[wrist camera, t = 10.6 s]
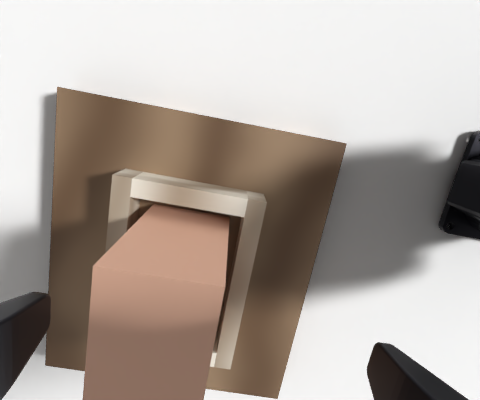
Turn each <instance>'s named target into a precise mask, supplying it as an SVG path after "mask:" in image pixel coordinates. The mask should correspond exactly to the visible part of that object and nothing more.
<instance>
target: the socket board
mask: <svg viewBox="0 0 480 400" xmlns="http://www.w3.org/2000/svg"><path fill="white" fill-rule="evenodd" d="M345 148H346V143H341V142H336V141H331V140H326V139H321V138H316V137H310V136H305V135H300V134H295V133H290V132H285V131H280V130H275V129H270V128H265V127H260V126H254V125H249V124H244V123H239V122H234V121H229V120H224V119H219V118H214V117H209V116H204V115H198V114H193V113H188V112H183V111H178V110H173V109H168V108H163V107H158V106H153V105H148V104H142V103H137V102H132V101H127V100H122V99H117V98H112V97H107V96H102V95H97V94H91V93H86V92H81V91H76V90H71V89H66V88H61V87H57V105H56V128H55V151H54V175H53V198H52V221H51V244H50V267H49V291H48V294H49V295H50V297H51V321H50V325H49V328H48V330H47V337H46V360H45V365H46V366H53V367H60V368H67V369H73V370H80V371H85V364H86V351H87V338H88V325H89V311H90V298H91V285H92V272H93V265H94V264H95V263H96V262H97V261H98V260H99V259H100V258H101V257H102V256H103V255H104V254H105V253H106V252H107V251H108V250H109V249H110V248H111V247H112V246H113V245H114V244H115V243H116V242H117V241H118V240H119V239H120V238H121V237H122V236H123V235H124V234H125V233H126V232H127V231H128V230H129V229H130V228H131V227H132V226H133V225H134V224H135V223H136V222H137V221H138V220H139V219H140V218H141V217H142V216H143V214H144V213H145V212H146V211H147V210H148V209H149V208H150V207H151V206H152V205H153V204H158V205H164V206H169V207H175V208H181V209H187V210H193V211H198V212H204V213H210V214H216V215H221V216H227V217H230V220H229V236H228V251H227V267H226V283H225V291H224V296H223V301H222V306H221V311H220V316H219V322H218V327H217V332H216V337H215V342H214V347H213V353H212V358H211V363H210V368H209V373H208V378H207V384H206V389H212V390H219V391H226V392H233V393H240V394H247V395H254V396H261V397H268V398H275V399H277V398H278V395H279V391H280V387H281V384H282V380H283V376H284V373H285V369H286V365H287V362H288V358H289V354H290V350H291V347H292V343H293V339H294V336H295V332H296V328H297V325H298V321H299V317H300V314H301V310H302V306H303V303H304V299H305V295H306V291H307V288H308V284H309V280H310V277H311V273H312V269H313V266H314V262H315V258H316V255H317V251H318V247H319V244H320V240H321V236H322V233H323V229H324V225H325V221H326V218H327V214H328V210H329V207H330V203H331V199H332V196H333V192H334V188H335V185H336V181H337V177H338V174H339V170H340V166H341V162H342V159H343V155H344V151H345Z"/></svg>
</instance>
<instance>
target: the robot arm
mask: <svg viewBox="0 0 480 400" xmlns="http://www.w3.org/2000/svg"><path fill="white" fill-rule="evenodd" d="M479 138H480V131H476V132H474V133H473V134H472V136H471V137H470V140H469V143H468V145H467V148H466V151H465V154H464V156H463V159H462V162H461V164H460V166H459V169H458V172H457V174H456V177H455V180H454V183H453V185H452V188H451V191H450V193H449V196H448V199H447V203H446V205H445V208H444V211H443V214H442V216H441V219H440V222H439V228H440V229H441V230H442V231H444V232H446V233H449V234H455V235H460V236H466V237H471V238H477V239H480V142H479ZM448 223H450V226H449V227H447V224H448ZM50 321H51V297H50V295H49V294H46V293H39V292H31V293H28V294H25V295H23V296H20V297H17V298H14V299H11V300H8V301H5V302H2V303H0V400H2V398H3V397H4V396H5V395H6V393H7V392H8V390H9V389H10V388H11V386H12V385H13V384H14V382H15V381H16V379H17V378H18V376H19V375H20V373H21V371H22V370H23V368H24V367H25V365H26V363H27V362H28V360H29V359H30V357H31V356H32V354H33V352H34V351H35V349H36V348H37V346H38V344H39V343H40V341H41V340H42V338H43V336H44V335H45V333H46V332H47V330H48V328H49V325H50ZM367 375H368V379H369V383H370V386H371V390H372V394H373V397H374V400H468V399H467V398H466V397H464V396H463V395H461V394H460V393H459V392H457V391H456V390H454V389H453V388H452V387H450V386H449V385H447V384H446V383H445V382H443V381H442V380H441V379H439V378H438V377H436V376H435V375H434V374H432V373H431V372H429V371H428V370H427V369H425V368H424V367H422V366H421V365H420V364H418V363H417V362H416V361H414V360H413V359H411V358H410V357H409V356H407V355H406V354H404V353H403V352H402V351H400V350H399V349H398V348H396V347H395V346H393V345H391V344H387V343H380V342H378V343H376V344H375V345H374V347H373V350H372V354H371V357H370V360H369V363H368V366H367Z"/></svg>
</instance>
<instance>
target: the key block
mask: <svg viewBox="0 0 480 400" xmlns="http://www.w3.org/2000/svg"><path fill="white" fill-rule="evenodd" d="M229 220H230V217H227V216H221V215H216V214H210V213H204V212H198V211H193V210H187V209H181V208H175V207H169V206H164V205H158V204H153V205H152V206H151V207H150V208H149V209H148V210H147V211H146V212H145V213H144V214H143V216H142V217H141V218H140V219H139V220H138V221H137V222H136V223H135V224H134V225H133V226H132V227H131V228H130V229H129V230H128V231H127V232H126V233H125V234H124V235H123V236H122V237H121V238H120V239H119V240H118V241H117V242H116V243H115V244H114V245H113V246H112V247H111V248H110V249H109V250H108V251H107V252H106V253H105V254H104V255H103V256H102V257H101V258H100V259H99V260H98V261H97V262H96V263H95V264H94V265H93V272H92V285H91V298H90V311H89V325H88V338H87V351H86V364H85V377H84V390H83V400H203V399H204V394H205V389H206V384H207V378H208V373H209V368H210V363H211V358H212V353H213V347H214V342H215V337H216V332H217V327H218V322H219V316H220V311H221V306H222V301H223V296H224V291H225V283H226V267H227V251H228V236H229Z"/></svg>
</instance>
